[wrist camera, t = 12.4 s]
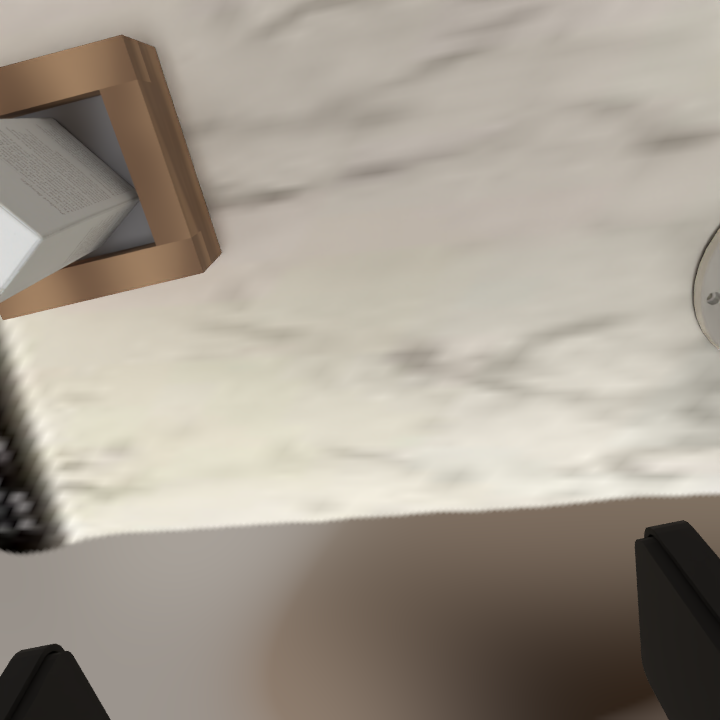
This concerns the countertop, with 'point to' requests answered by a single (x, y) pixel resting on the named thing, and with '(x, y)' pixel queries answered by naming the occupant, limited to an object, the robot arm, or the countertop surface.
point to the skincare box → (52, 201)
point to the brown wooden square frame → (117, 168)
